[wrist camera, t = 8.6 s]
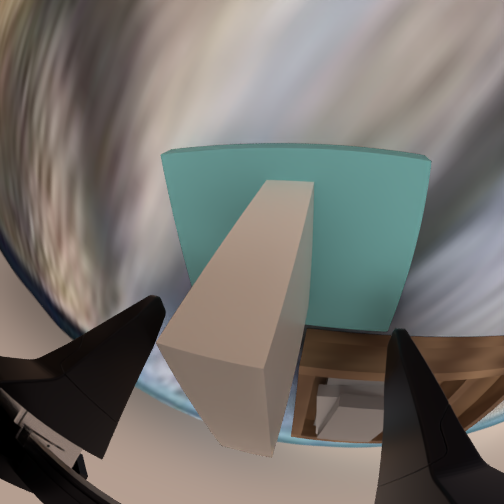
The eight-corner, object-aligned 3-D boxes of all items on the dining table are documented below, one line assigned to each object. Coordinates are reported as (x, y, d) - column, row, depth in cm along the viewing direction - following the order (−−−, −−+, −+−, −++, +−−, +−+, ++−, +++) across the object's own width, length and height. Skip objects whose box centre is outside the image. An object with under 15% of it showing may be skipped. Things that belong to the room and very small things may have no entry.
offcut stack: (412, 365, 15) (414, 401, 13) (371, 420, 21) (369, 446, 19) (323, 359, 17) (317, 397, 15) (309, 416, 23) (304, 442, 21)
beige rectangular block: (314, 181, 11) (263, 368, 4) (308, 305, 14) (271, 457, 8) (266, 179, 11) (155, 342, 4) (272, 301, 15) (221, 445, 8)
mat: (424, 155, 9) (431, 161, 8) (386, 319, 15) (387, 331, 14) (171, 149, 13) (160, 154, 12) (204, 297, 18) (198, 308, 17)
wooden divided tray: (530, 333, 11) (540, 361, 9) (456, 415, 20) (457, 436, 17) (307, 328, 17) (299, 365, 15) (296, 412, 25) (290, 436, 23)
